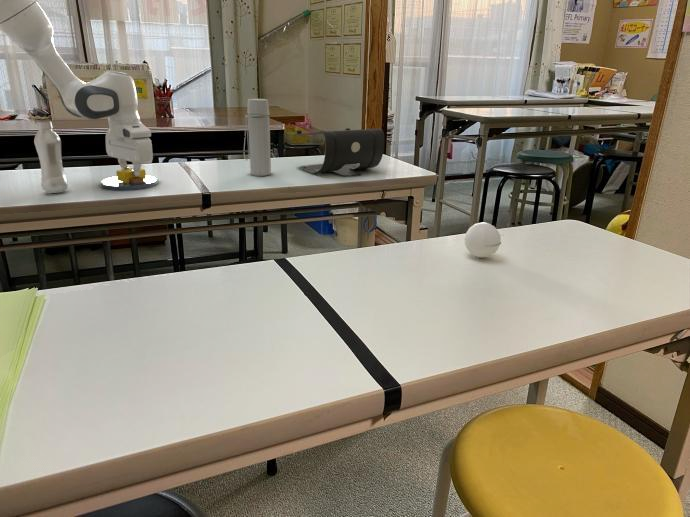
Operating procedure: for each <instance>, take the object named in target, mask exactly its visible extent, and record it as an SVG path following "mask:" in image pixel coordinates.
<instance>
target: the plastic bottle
mask: <svg viewBox="0 0 690 517" xmlns="http://www.w3.org/2000/svg"><path fill="white" fill-rule="evenodd" d="M35 124H36V129H37V130H38V131H37V132H36V134H35V136H34V140H33V143H34V146H35V150H36V153H37V155H38V159H39V165H40V171H41V178H40V179H41V180H40V181H41V182H40V184H41V188H42V190H43V191H44V192H45V193H47V194H48V193H49V194H59V193H63V192H66V191H67V190H68V188H69V182H68V178H67V176H66V173H65V169H64V166H63V157H62V140H61V137H60V136H59V135H58V134H57V133H56V132H55V130H53V128H54V126H53V122H52V121H51V120H37V121H35Z"/></svg>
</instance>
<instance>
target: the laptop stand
mask: <svg viewBox="0 0 690 517" xmlns="http://www.w3.org/2000/svg"><path fill="white" fill-rule="evenodd" d="M310 135H312V136H313V135H323V137H324V144H325V147H324V148H325V150H324V159H323V163H319V164H309V165H302V166H299V169H300V170H302V171H304V172H306V173H309V174H321V173H331V172H332V173H334V174H336V175H339V176H342V177H355V176H360V175H361V173H359V172H357V171H354V170H362V169H363V170H364V169H373V168H376V167H377V166H379V164H380V163H381V162H382V159H383V155H384V151H385V133H384V130H383V129H382V128H367V129H366V128H365V129H351V128H347V127H346V128H345V129H344V130H343V129H342V130H319V131H313V132H306V133H305V132H304V133H303V132H302V130H296V134H294V136H310ZM354 143H358V144H359V149H358V150H357V151H353V149H352V147H353V144H354Z"/></svg>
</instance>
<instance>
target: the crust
mask: <svg viewBox="0 0 690 517" xmlns="http://www.w3.org/2000/svg"><path fill="white" fill-rule="evenodd" d="M129 180H130V183H131V184H135V185H136V184H142V183H144V178H141V177H134V178H129Z"/></svg>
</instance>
